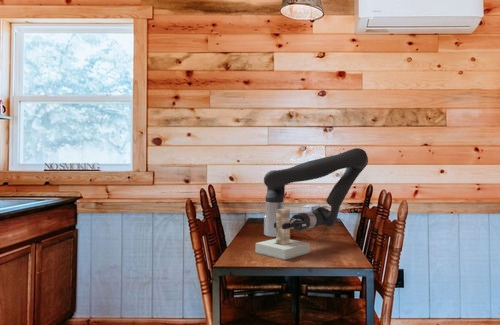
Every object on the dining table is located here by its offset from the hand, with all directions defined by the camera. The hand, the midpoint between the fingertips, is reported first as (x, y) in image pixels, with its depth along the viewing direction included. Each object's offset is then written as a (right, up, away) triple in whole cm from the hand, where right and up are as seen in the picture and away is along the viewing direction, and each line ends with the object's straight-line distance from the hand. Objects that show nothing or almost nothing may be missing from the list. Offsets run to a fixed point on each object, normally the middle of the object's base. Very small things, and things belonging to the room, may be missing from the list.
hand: (278, 226), depth 154 cm
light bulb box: (+26, -11, +76) cm, 81 cm away
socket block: (+2, -12, +2) cm, 12 cm away
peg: (+2, -8, +2) cm, 9 cm away
